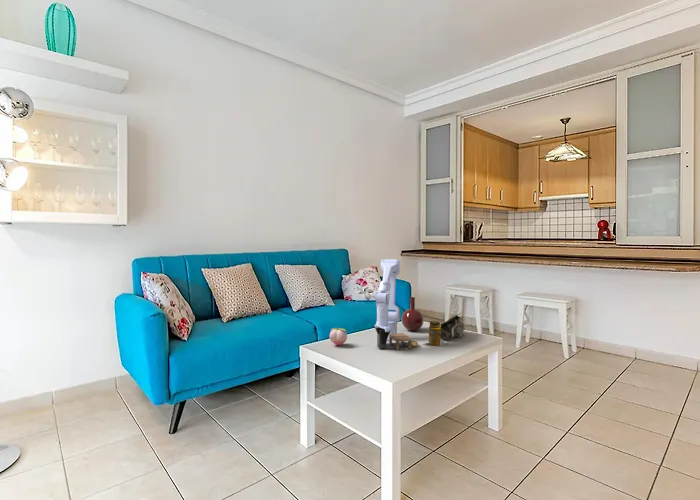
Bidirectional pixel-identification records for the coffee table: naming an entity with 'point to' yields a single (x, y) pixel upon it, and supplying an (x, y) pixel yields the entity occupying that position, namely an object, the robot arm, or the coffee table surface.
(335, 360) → the coffee table surface
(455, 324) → the hollow geode rock
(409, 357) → the coffee table surface
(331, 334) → the decorative fruit
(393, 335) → the stand
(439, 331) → the condiment
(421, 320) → the round-bottom flask
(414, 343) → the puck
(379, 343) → the dark grey mallet
